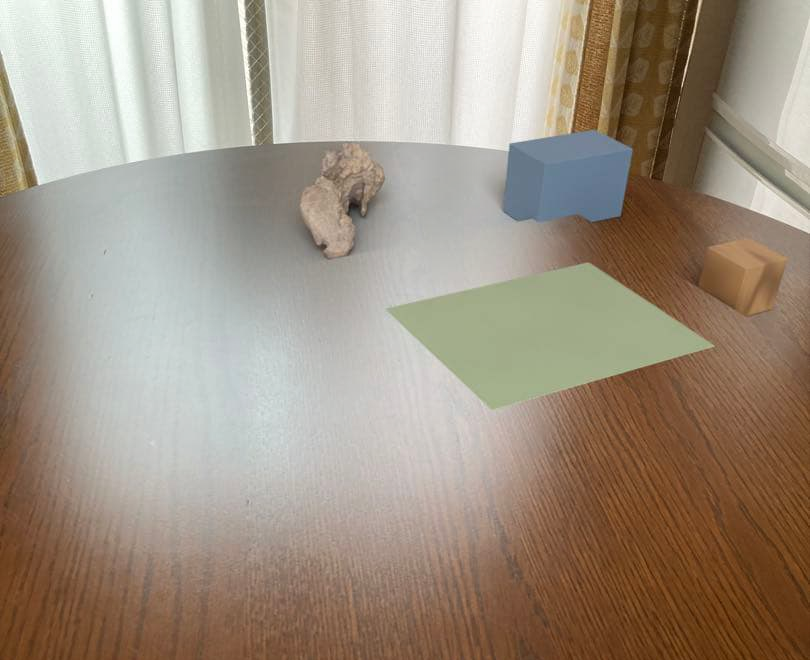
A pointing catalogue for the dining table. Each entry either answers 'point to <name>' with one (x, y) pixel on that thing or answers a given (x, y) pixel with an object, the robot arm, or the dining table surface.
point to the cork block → (743, 275)
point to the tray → (544, 333)
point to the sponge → (567, 177)
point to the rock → (340, 196)
